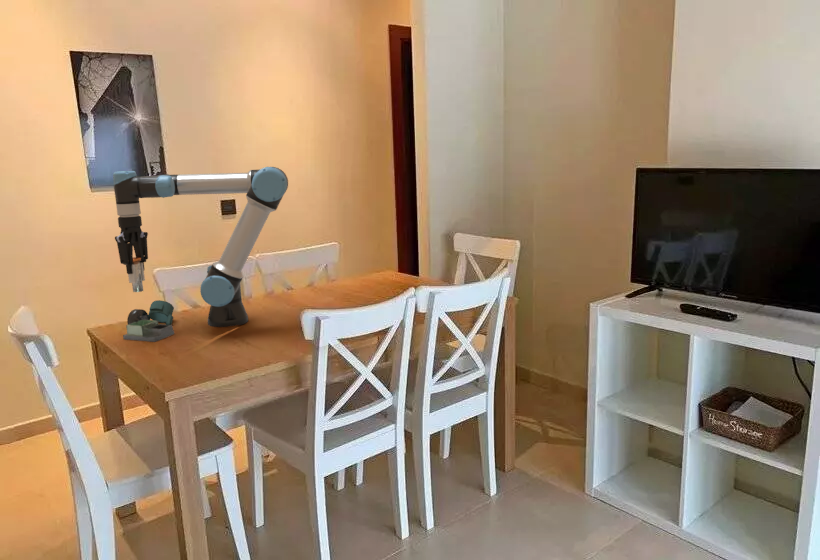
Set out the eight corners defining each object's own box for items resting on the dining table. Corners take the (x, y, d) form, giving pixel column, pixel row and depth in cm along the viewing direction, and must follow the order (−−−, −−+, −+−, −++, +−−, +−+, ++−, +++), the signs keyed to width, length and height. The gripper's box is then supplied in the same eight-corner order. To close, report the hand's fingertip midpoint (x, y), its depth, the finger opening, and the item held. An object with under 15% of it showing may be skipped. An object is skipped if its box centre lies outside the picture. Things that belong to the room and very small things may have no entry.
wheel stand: (153, 329, 241) (151, 307, 240) (138, 334, 234) (135, 312, 232) (140, 328, 244) (138, 306, 242) (125, 333, 236) (122, 311, 235)
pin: (147, 290, 230) (143, 257, 228) (138, 292, 226) (134, 259, 224) (137, 289, 231) (133, 256, 229) (128, 292, 227) (124, 258, 225)
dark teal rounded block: (178, 306, 249) (172, 326, 244) (167, 314, 254) (161, 333, 249) (156, 296, 244) (150, 316, 239) (145, 305, 250) (139, 324, 244)
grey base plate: (174, 334, 233) (172, 320, 232) (154, 341, 224) (153, 328, 223) (143, 331, 238) (142, 318, 237) (123, 339, 229) (121, 325, 228)
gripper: (137, 213, 232) (145, 276, 237) (102, 218, 217) (111, 285, 222) (154, 213, 230) (161, 277, 234) (119, 218, 215) (128, 286, 219)
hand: (137, 281), depth 228 cm, fingers closed on pin, 3 cm apart
